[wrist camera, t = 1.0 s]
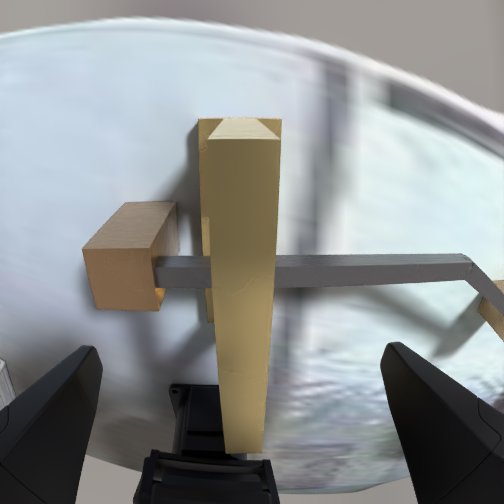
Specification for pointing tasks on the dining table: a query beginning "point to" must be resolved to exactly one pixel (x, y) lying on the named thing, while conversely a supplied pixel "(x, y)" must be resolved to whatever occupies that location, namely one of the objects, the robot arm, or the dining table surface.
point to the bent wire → (286, 266)
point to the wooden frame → (240, 263)
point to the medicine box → (5, 386)
